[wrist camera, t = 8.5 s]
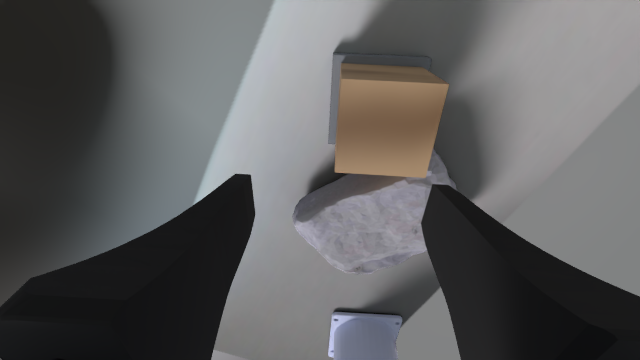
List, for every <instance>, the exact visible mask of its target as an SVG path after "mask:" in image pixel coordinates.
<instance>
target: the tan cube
mask: <svg viewBox="0 0 640 360" xmlns="http://www.w3.org/2000/svg"><path fill="white" fill-rule="evenodd" d="M448 87H449V84H448V83H446V82H445V81H443V80H442V79H440V78H439V77H437V76H436V75H434V74H432V73H431V72H429V71H428V70H426V69H425V68H423V67H411V66H390V65H370V64H349V63H341V69H340V84H339V98H338V113H337V127H336V145H335V172H337V173H353V174H369V175H386V176H402V177H418V178H426V174H427V170H428V166H429V162H430V158H431V154H432V150H433V146H434V142H435V138H436V134H437V130H438V126H439V122H440V118H441V114H442V111H443V107H444V103H445V99H446V95H447V91H448Z"/></svg>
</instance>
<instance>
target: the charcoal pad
mask: <svg viewBox="0 0 640 360" xmlns="http://www.w3.org/2000/svg"><path fill="white" fill-rule="evenodd" d="M431 61H432V59H431V58H429V57H419V56H396V55H373V54H351V53H333V67H332V85H331V104H330V122H329V140H328V144H336V127H337V113H338V98H339V84H340V69H341V63H349V64H370V65H390V66H411V67H423V68H425V69H426V70H428V71H429V70H430V66H431Z"/></svg>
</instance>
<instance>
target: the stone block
mask: <svg viewBox="0 0 640 360" xmlns="http://www.w3.org/2000/svg"><path fill="white" fill-rule="evenodd" d="M432 184H443V185H449V186H451V187H452V188H454V189H455V190H457V188H456V184H455V183H454V182H453V180H452V179H450V178H449V176H448V172H447V169H446V167H445V165H444V163H443V161H442V160H441V158H440V157H439V155H438V154H436V152H435V149H434V148H433V150H432V154H431V158H430V162H429V166H428V170H427V174H426V178H418V177H402V176H386V175H369V174H353V173H348V174H346V175H344V176H343V177H341V178H340V179H338V180H336V181H334V182H332V183H330V184H327V185H325V186H323V187H321V188H319V189H317V190H315V191H313V192H311V193H310V194H308V195H306V196H305V197H303V198H302V199H301V200H300V201H299V203H298V204H297V205H296V207H295V210H294V213H293V216H292V217H293V222H294V225H295V228H296V230H297V231H298V233H299V234H300V235H301V236H302V237H304V238H305V239H306V240H307V242H308V243H309V244H311V245H312V246H313V247H314V248H315V249H316V250H317V251H318V252H319V253H320V254H321V255H322V256H323V257H324V258H325V259H326V260H327V261H328V262H329V263H330V264H331V265H332V266H334V267H336V268H338V269H339V270H341V271H343V272H345V273H355V274H370V273H373V272H375V271H376V270H379V269H382V268H388V267H391V266H394V265H397V264H399V263H401V262H403V261H405V260H406V259H408V258H409V257H410V256H411V255H415V254H418V253H423V252H425V251H427V248H426V245H425V241H424V237H423V232H422V227H421V221H422V218H423V214H424V211H425V208H426V204H427V201H428V197H429V194H430V191H431V187H432Z"/></svg>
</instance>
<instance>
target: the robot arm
mask: <svg viewBox="0 0 640 360" xmlns="http://www.w3.org/2000/svg"><path fill="white" fill-rule="evenodd" d="M254 218H255V208H254V199H253V190H252V181H251V175H248V174H235V175H233V176H232V177H231V178H229V179H228V180H227V181H225V182H224V183H223V184H221V185H220V186H219V187H218V188H216V189H215V190H214V191H212V192H211V193H210V194H208V195H207V196H206V197H204V198H203V199H202V200H200V201H199V202H197V203H196V204H195V205H193V206H192V207H190V208H189V209H187V210H186V211H184V212H183V213H181V214H180V215H178V216H177V217H175V218H173V219H172V220H170V221H168V222H167V223H165V224H163V225H161V226H160V227H158V228H156V229H154V230H152V231H150V232H148V233H146V234H144V235H142V236H140V237H138V238H136V239H134V240H132V241H129V242H127V243H125V244H123V245H121V246H119V247H116V248H114V249H112V250H109V251H107V252H105V253H102V254H99V255H97V256H94V257H92V258H89V259H87V260H84V261H81V262H78V263H76V264H73V265H70V266H67V267H64V268H61V269H58V270H55V271H52V272H49V273H46V274H43V275H40V276H36V277H33V278H30V279H29V280H28V281H27V282H26V283H25V284H24V285H23V286H22V287H21V288H20V289H19V290H18V291H16V293H14V294H13V295H12V296H11V297H10V298H9V299H8V300H7V301H6V302H5V303H4V304H3V305H2V306H1V307H0V358H1V359H2V360H211V357H212V353H213V349H214V345H215V341H216V337H217V333H218V329H219V325H220V321H221V317H222V314H223V310H224V307H225V303H226V299H227V296H228V293H229V290H230V287H231V284H232V281H233V279H234V276H235V274H236V271H237V269H238V266H239V263H240V261H241V258H242V256H243V253H244V251H245V248H246V246H247V243H248V240H249V238H250V235H251V231H252V227H253V222H254ZM421 227H422V232H423V237H424V241H425V245H426V248H427V251H428V254H429V256H430V259H431V262H432V264H433V267H434V270H435V272H436V275H437V278H438V280H439V283H440V286H441V288H442V291H443V293H444V296H445V299H446V302H447V305H448V309H449V312H450V316H451V320H452V324H453V328H454V332H455V335H456V340H457V344H458V348H459V353H460V357H461V360H640V297H639V296H637V295H634V294H632V293H630V292H627V291H625V290H623V289H620V288H618V287H616V286H613V285H611V284H609V283H606V282H604V281H602V280H600V279H598V278H596V277H594V276H591V275H589V274H587V273H585V272H583V271H581V270H579V269H577V268H575V267H573V266H571V265H569V264H567V263H565V262H563V261H561V260H559V259H558V258H556V257H554V256H552V255H550V254H548V253H546V252H545V251H543V250H541V249H540V248H538V247H536V246H535V245H533V244H531V243H529V242H528V241H526V240H525V239H523V238H521V237H520V236H518V235H517V234H515V233H514V232H512V231H511V230H509V229H508V228H506V227H505V226H503V225H502V224H501V223H499V222H498V221H496V220H495V219H494V218H492V217H491V216H489V215H488V214H487V213H485V212H484V211H483V210H481V209H480V208H479V207H478V206H476V205H475V204H474V203H472V202H471V201H470V200H468V199H467V198H466V197H465V196H463V195H462V194H461V193H459V192H458V191H457V190H455V189H454V188H452V187H451V186H449V185H443V184H432V187H431V191H430V194H429V197H428V201H427V204H426V208H425V211H424V214H423V218H422V221H421ZM401 324H402V317H401V316H398V315H381V314H364V313H347V312H334V313H332V320H331V330H330V341H329V351H328V355H329V356H330V357H334V360H398V354H397V348H396V343H395V342H396V339H397V336H398V333H399V330H400V327H401Z"/></svg>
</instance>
